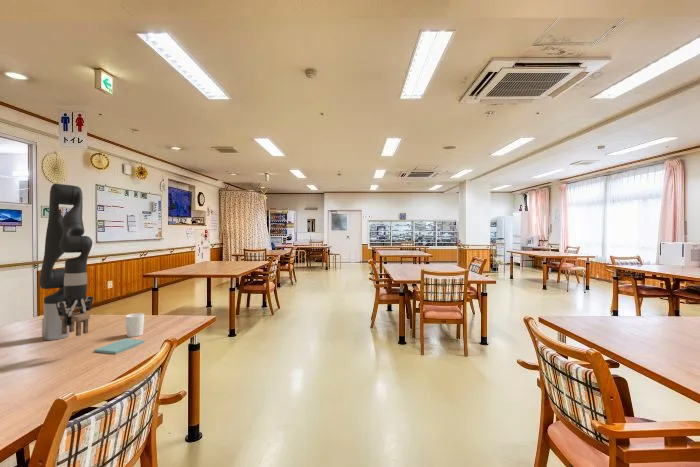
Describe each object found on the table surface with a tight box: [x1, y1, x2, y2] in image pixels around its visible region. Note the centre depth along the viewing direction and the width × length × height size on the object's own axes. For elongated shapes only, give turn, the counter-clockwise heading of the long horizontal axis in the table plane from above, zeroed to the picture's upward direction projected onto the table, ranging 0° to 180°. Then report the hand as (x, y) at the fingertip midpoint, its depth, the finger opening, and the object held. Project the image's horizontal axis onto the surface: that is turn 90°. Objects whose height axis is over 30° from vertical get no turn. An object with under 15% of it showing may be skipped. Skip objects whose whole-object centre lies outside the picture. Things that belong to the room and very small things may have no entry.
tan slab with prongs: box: [60, 311, 91, 337], centre depth 138 cm, size 9×5×8 cm, turn 79°
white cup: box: [125, 312, 145, 338], centre depth 165 cm, size 8×8×10 cm
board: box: [93, 338, 145, 355], centre depth 148 cm, size 11×15×1 cm
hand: (75, 323), depth 138 cm, fingers closed on tan slab with prongs, 5 cm apart
